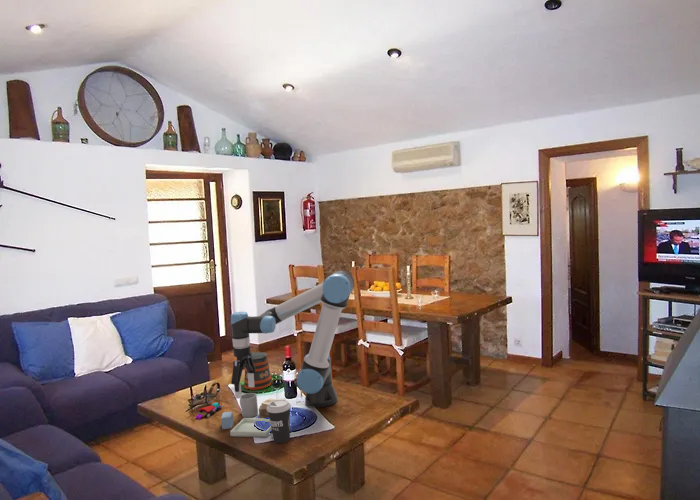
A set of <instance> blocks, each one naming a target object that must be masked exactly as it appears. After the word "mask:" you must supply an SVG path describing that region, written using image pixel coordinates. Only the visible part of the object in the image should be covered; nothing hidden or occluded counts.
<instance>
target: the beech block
mask: <svg viewBox="0 0 700 500" xmlns="http://www.w3.org/2000/svg"><path fill="white" fill-rule="evenodd" d="M273 400H278V399H277V398H271V397H270V398H268V399H266V400H265V401H262V402H261V403H260V405H268V404H269V402H271V401H273Z"/></svg>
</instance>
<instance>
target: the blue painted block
mask: <svg viewBox="0 0 700 500" xmlns="http://www.w3.org/2000/svg"><path fill="white" fill-rule="evenodd" d="M220 420H221V428H222V429H221V430H227V429H229V430H230V429H233V425H234V415H233V411H224V412H222V415H221V418H220Z"/></svg>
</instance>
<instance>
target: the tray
mask: <svg viewBox="0 0 700 500" xmlns="http://www.w3.org/2000/svg"><path fill="white" fill-rule="evenodd" d="M254 421H265V422H270V419H264V418H258V417H257V418H255V417H252V418H244V417H243V418H242V419H241V420H240V422H238V423H237V424H236V425H235V426H234V427H232V428H231V430H230V431H229V434H230V437H250V438H251V437H252V438H268V437H269V435H270V434H271V433H270V430H271V426H270V427H269V428H268V429H267V430H266V431H261V430H258V429H257V428H256V427H254ZM269 433H270V434H269Z"/></svg>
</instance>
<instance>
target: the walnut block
mask: <svg viewBox="0 0 700 500" xmlns="http://www.w3.org/2000/svg"><path fill="white" fill-rule="evenodd" d="M267 406H268V405H262V404H260V405H259V407H258V415H259V418H267V417H269V414H268V411H267Z"/></svg>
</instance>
